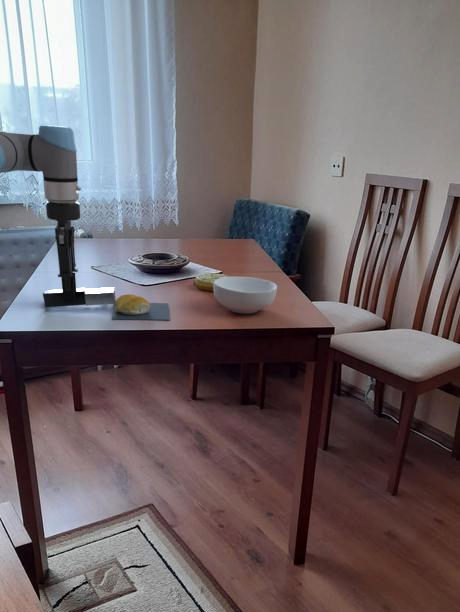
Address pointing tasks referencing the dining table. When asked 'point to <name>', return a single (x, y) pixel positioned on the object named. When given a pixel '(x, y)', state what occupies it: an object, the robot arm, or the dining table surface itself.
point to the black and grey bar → (80, 297)
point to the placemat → (155, 313)
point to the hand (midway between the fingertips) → (70, 300)
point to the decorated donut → (207, 280)
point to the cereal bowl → (244, 293)
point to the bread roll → (131, 304)
